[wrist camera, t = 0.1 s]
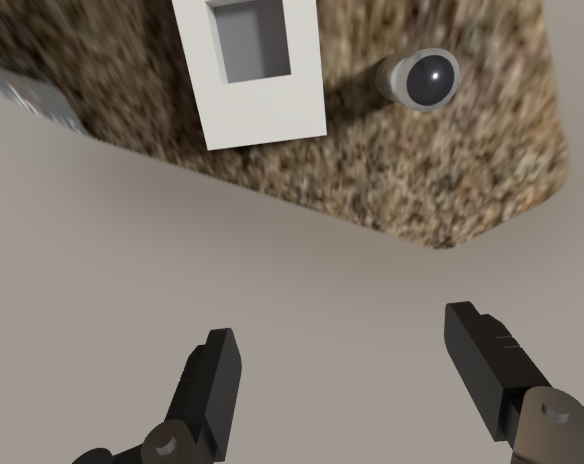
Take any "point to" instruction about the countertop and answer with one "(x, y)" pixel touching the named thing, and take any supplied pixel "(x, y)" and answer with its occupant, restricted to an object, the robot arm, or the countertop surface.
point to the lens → (418, 78)
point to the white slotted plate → (253, 69)
